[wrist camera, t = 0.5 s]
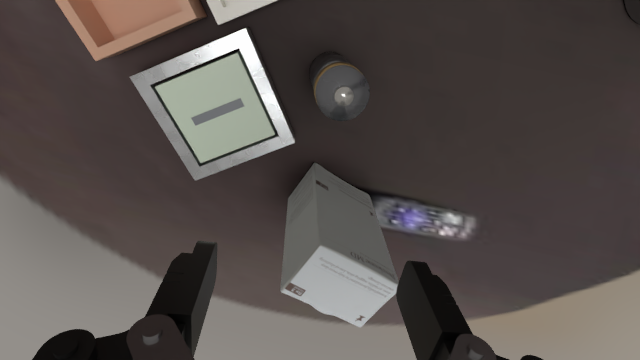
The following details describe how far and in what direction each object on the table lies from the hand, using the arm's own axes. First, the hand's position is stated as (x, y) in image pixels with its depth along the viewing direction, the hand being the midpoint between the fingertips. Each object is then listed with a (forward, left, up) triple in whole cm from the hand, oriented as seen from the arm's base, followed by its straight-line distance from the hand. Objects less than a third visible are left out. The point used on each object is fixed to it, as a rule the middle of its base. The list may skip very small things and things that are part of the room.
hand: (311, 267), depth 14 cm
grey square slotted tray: (+7, -4, -23) cm, 24 cm away
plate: (+7, -4, -22) cm, 23 cm away
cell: (-4, -3, -23) cm, 23 cm away
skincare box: (+1, +10, -23) cm, 25 cm away
